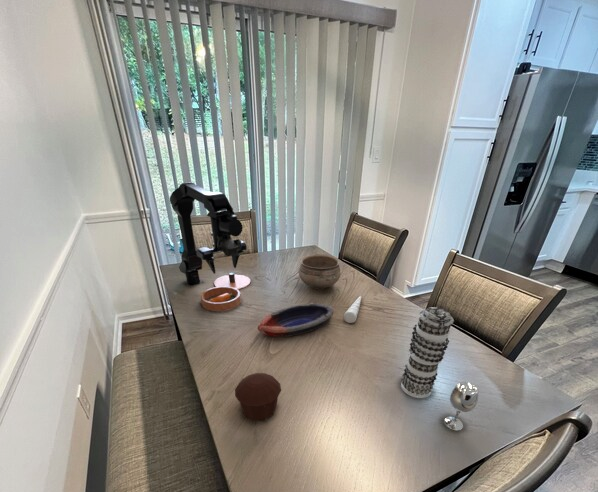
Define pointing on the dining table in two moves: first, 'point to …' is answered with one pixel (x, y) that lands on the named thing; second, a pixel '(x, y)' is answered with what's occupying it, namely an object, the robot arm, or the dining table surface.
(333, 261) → the cooking pot
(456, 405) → the wineglass
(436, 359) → the decorative candle
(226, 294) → the carrot
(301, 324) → the dish
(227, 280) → the lid
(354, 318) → the unicorn horn
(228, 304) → the faceted terracotta bowl
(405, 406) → the dining table surface
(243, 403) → the muffin
